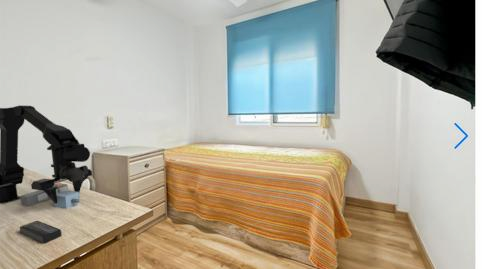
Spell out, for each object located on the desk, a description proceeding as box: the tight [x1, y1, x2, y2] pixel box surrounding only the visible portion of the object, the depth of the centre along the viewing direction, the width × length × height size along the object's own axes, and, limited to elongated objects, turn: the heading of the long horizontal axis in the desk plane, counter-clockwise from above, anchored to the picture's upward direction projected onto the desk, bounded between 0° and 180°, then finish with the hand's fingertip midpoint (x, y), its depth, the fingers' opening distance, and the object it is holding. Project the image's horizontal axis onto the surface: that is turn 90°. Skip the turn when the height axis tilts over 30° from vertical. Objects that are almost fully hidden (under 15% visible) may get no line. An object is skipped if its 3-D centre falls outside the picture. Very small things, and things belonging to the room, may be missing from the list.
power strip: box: [20, 182, 69, 207], centre depth 92 cm, size 4×15×5 cm, turn 163°
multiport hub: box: [19, 220, 62, 245], centre depth 65 cm, size 4×14×2 cm, turn 65°
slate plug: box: [53, 190, 81, 210], centre depth 85 cm, size 12×5×5 cm, turn 73°
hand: (66, 199), depth 85 cm, fingers open, 8 cm apart
